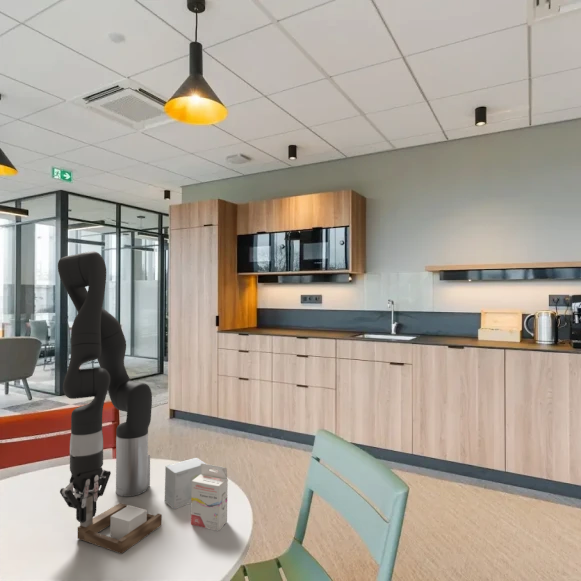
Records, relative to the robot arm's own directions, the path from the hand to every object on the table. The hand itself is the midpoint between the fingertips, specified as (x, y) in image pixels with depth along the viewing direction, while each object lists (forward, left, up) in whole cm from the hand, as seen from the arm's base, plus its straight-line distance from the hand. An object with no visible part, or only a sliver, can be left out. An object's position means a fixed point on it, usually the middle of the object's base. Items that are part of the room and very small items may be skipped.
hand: (86, 518), depth 105 cm
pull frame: (-5, +7, -5) cm, 10 cm away
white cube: (-5, +9, -5) cm, 12 cm away
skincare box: (-26, +10, -5) cm, 28 cm away
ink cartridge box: (-18, +24, -5) cm, 30 cm away
